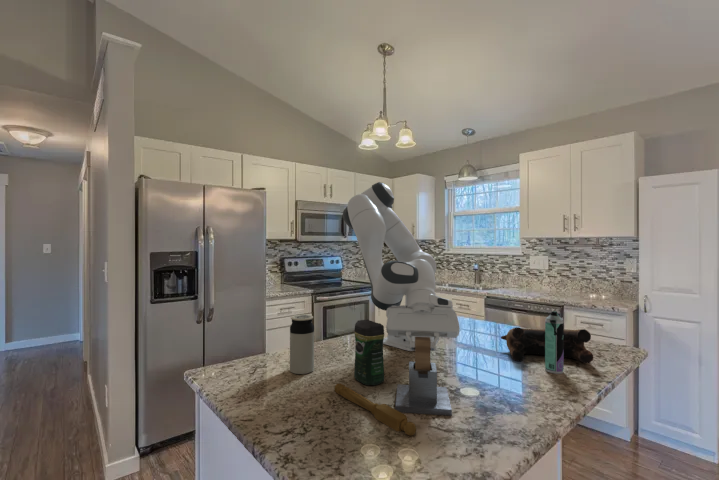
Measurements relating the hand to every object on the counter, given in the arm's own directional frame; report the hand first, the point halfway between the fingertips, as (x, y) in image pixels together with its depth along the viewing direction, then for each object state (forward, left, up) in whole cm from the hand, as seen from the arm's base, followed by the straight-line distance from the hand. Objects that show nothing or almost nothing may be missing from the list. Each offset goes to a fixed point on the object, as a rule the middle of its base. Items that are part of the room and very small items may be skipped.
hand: (422, 349), depth 98 cm
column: (0, +1, -13) cm, 13 cm away
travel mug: (-43, -1, -15) cm, 46 cm away
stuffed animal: (+20, +66, -15) cm, 71 cm away
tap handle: (-8, -12, -15) cm, 21 cm away
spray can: (+26, +48, -15) cm, 56 cm away
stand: (0, +1, -14) cm, 14 cm away
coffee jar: (-20, +5, -15) cm, 25 cm away
